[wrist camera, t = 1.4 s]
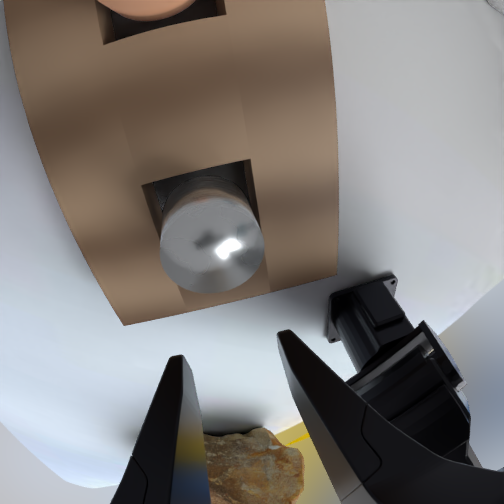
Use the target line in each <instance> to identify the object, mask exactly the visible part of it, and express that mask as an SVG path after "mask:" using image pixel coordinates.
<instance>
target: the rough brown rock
mask: <svg viewBox="0 0 504 504" xmlns="http://www.w3.org/2000/svg"><path fill="white" fill-rule="evenodd" d="M203 437H204V447H205V456H206V465H207V474H208V482H209V490H210V498H211V504H295V503H296V501H297V500H298V498H299V497H300V494H301V493H302V491H303V490H304V458H303V456H302V454H301V452H300V451H299V450H298V449H296V448H290V447H286V446H284V445H282V444H281V443H280V442H279V441H278V440H277V438H276V437H275V436H274V435H273V434H272V433H271V431H269V430H267V429H265V428H256V429H253V430H251V431H250V432H249V433H247V434H244V435H241V434H239V433H235V434H231V435H225V436H223V437H215V436H210V435H207V434H203Z"/></svg>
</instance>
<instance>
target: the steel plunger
mask: <svg viewBox="0 0 504 504" xmlns="http://www.w3.org/2000/svg"><path fill="white" fill-rule="evenodd" d="M264 249H265V245H264V238H263V235H262V233H261V230H260V228H259V226H258V223H257V221H256V219H255V216H254V214H253V212H252V209H251V207H250V205H249V203H248V200H247V198H246V196H245V194H244V193H243V192H242V190H241V189H240V188H239V187H238V186H237V185H235V184H234V183H232V182H231V181H229V180H227V179H224V178H221V177H216V176H200V177H196V178H192V179H190V180H187V181H185V182H184V183H182V184H180V185H179V186H178V187H177V188H175V189H174V190H173V191H172V193H171V194H170V195H169V197H168V198H167V200H166V202H165V205H164V209H163V215H162V227H161V240H160V260H161V264H162V267H163V269H164V271H165V272H166V274H167V275H168V277H169V278H170V279H171V280H172V281H174V282H175V283H176V284H177V285H179V286H181V287H183V288H185V289H187V290H190V291H193V292H198V293H219V292H224V291H228V290H231V289H233V288H235V287H237V286H239V285H241V284H243V283H244V282H246V281H247V280H248V279H249V278H250V277H251V276H252V275H253V274H254V273H255V272H256V270H257V269H258V268H259V266H260V264H261V262H262V259H263V256H264Z"/></svg>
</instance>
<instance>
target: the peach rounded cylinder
mask: <svg viewBox="0 0 504 504" xmlns="http://www.w3.org/2000/svg"><path fill="white" fill-rule="evenodd" d="M97 1H99V2H100V3H102V4H103V5H105V6H107V7H108V8H110V9H111V10H113V11H115V12H116V13H118V14H119V15H121V16H123V17H125V18H128V19H131V20H135V21H157V20H162V19H165V18H169V17H171V16H174V15H176V14H178V13H180V12H182V11H183V10H185V9H186V8H188V7H189V6H190V5H191V4H193V3H194V2H195V1H196V0H97Z"/></svg>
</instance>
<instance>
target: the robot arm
mask: <svg viewBox="0 0 504 504" xmlns="http://www.w3.org/2000/svg"><path fill="white" fill-rule="evenodd" d="M397 282H398V279H397V278H396V276H395V275H391V276H388V277H385V278H382V279H379V280H375V281H372V282H369V283H366V284H363V285H359V286H356V287H353V288H349V289H346V290H343V291H339V292H336V293H333V294H332V295H331V296H330V298H329V314H328V331H327V340H328V342H329V343H334V342H337V341H340V340H341V341H342V343H343V345H344V347H345V349H346V351H347V353H348V355H349V357H350V359H351V361H352V363H353V365H354V367H355V369H356V371H357V374H356V375H354V376H353V377H351V378H350V379H349V380H347V381H346V382H344V381H343V380H342V379H341V378H340V377H339V376H338V375H337V374H336V373H335V372H334V371H333V370H332V369H331V368H330V367H329V366H328V365H327V364H325V363H324V362H323V361H322V360H321V359H320V358H319V357H318V356H317V355H316V354H315V353H314V352H313V351H312V350H311V349H310V348H309V347H308V346H307V345H306V344H305V343H304V342H303V341H302V340H301V339H300V338H299V337H298V336H297V335H296V334H294V333H293V332H292V331H291V330H289V329H287V330H284V331H280V332H278V333H277V341H278V348H279V353H280V356H281V360H282V363H283V367H284V370H285V374H286V377H287V380H288V384H289V387H290V391H291V394H292V397H293V399H294V401H295V404H296V406H297V408H298V411H299V413H300V415H301V417H302V419H303V422H304V424H305V426H306V428H307V430H308V433H309V435H310V437H311V439H312V441H313V444H314V446H315V448H316V450H317V452H318V454H319V457H320V459H321V461H322V463H323V465H324V467H325V469H326V472H327V474H328V476H329V478H330V480H331V482H332V485H333V487H334V489H335V491H336V493H337V495H338V497H339V499H340V501H341V504H504V467H503V468H501V469H500V470H498V471H494V470H490V469H485V468H483V467H482V466H481V464H480V462H479V460H478V459H477V457H476V455H475V454H474V452H473V450H472V448H471V446H470V445H469V438H470V437H469V436H470V421H471V416H470V411H469V405H468V401H467V399H466V397H465V395H464V394H463V392H462V391H461V389H462V388H463V387H465V386H466V385H467V383H466V381H465V379H464V377H463V376H462V374H461V372H460V370H459V368H458V367H457V365H456V363H455V361H454V359H453V358H452V356H451V354H450V353H449V351H448V350H447V348H446V347H445V345H444V344H443V343H442V341H441V340H440V338H439V337H438V336H437V334H436V333H435V332H434V331H433V330H432V329H431V328H430V327H429V325H428V324H427V323H426V322H425V321H424V320H423V321H422V322H421V323H419V324H418V325H419V326H418V327H416V328H415V329H414V327H413V326H412V324H411V323H410V321H409V320H408V318H407V317H406V316H405V312H404V311H403V309H402V308H401V307H400V305H399V304H398V302H397V301H396V300H395V298H394V295H395V291H396V286H397ZM432 349H434V351H432V352H431V353H430V354H428V352H429V351H431V350H432ZM132 455H133V456H131V457H130V460H129V462H128V465H127V468H126V470H125V473H124V475H123V478H122V480H121V482H120V484H119V487H118V489H117V491H116V493H115V495H114V497H113V499H112V501H111V503H110V504H211V498H210V490H209V482H208V474H207V465H206V456H205V447H204V437H203V426H202V417H201V412H200V407H199V402H198V398H197V393H196V388H195V383H194V378H193V373H192V370H191V368H190V366H189V364H188V362H187V361H186V359H185V357H184V356H183V355H176V356H172V357H170V358H169V360H168V362H167V365H166V367H165V370H164V372H163V375H162V377H161V380H160V382H159V385H158V387H157V390H156V392H155V395H154V397H153V400H152V402H151V405H150V407H149V410H148V413H147V415H146V418H145V420H144V423H143V425H142V428H141V431H140V433H139V436H138V439H137V441H136V444H135V447H134V449H133V452H132Z"/></svg>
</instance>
